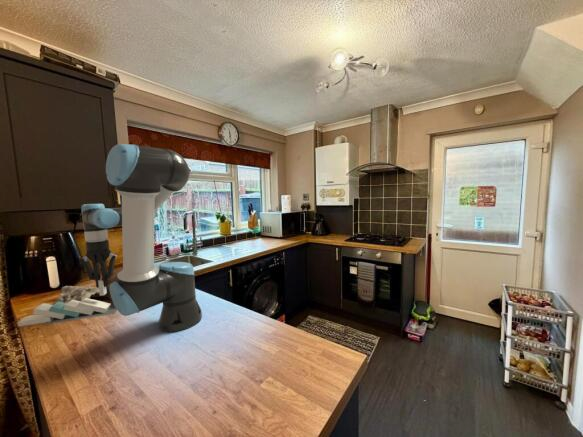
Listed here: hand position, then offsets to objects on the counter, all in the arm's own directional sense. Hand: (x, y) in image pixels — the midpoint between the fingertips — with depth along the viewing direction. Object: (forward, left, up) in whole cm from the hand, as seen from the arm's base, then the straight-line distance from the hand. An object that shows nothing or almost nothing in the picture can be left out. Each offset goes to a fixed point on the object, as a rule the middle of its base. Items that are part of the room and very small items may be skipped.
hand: (103, 294), depth 102 cm
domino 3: (+2, +3, -7) cm, 8 cm away
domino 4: (-1, -1, -7) cm, 7 cm away
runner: (+5, +6, -8) cm, 11 cm away
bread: (+8, -15, -8) cm, 19 cm away
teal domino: (+5, +6, -7) cm, 11 cm away
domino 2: (+9, +10, -7) cm, 15 cm away
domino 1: (+12, +13, -6) cm, 19 cm away
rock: (+23, +2, -8) cm, 24 cm away
